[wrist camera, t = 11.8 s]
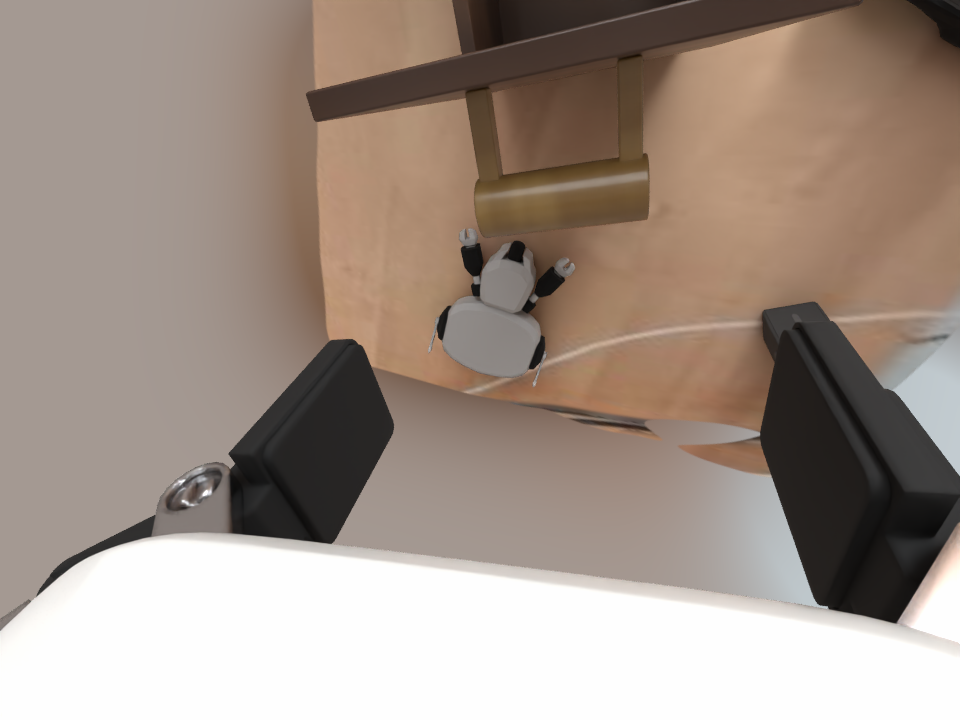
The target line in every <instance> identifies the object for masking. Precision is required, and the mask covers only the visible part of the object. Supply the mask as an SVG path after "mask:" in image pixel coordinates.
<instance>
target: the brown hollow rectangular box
mask: <svg viewBox="0 0 960 720" xmlns="http://www.w3.org/2000/svg"><path fill="white" fill-rule="evenodd" d="M452 1H453V7H454V12H455V18H456V23H457V29H458V35H459V40H460V46H461V51H462V55H463V54H467V53H471V52H475V51H479V50H483V49H488V48H492V47H496V46H500V45H504V44H508V43H512V42H517V41H521V40H525V39H529V38H533V37H537V36H541V35H546V34H550V33H554V32H558V31H562V30H566V29H570V28H575V27H579V26H583V25H587V24H591V23H595V22H599V21H604V20H608V19H612V18H616V17H620V16H624V15H628V14H633V13H637V12H641V11H645V10H649V9H653V8H657V7H662V6H666V5H670V4H674V3H678V2H682V1H686V0H452Z"/></svg>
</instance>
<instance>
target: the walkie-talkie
mask: <svg viewBox="0 0 960 720" xmlns="http://www.w3.org/2000/svg"><path fill="white" fill-rule="evenodd" d="M811 321H830V320H829V318H828V317H827V315H826V314H825V313H824V311H823V310H822V309H821V307H820V306H819V305H818V303H816V302H809V303H803V304H797V305H791V306H785V307H779V308H774V309H768V310H764V311H763V337H764V341H765V343H766V345H767V348H768V350H769V352H770V354H771V356H772V358H773V360H774V362H775V360H776V355H777V350H778V346H779V341H780V336H781V333H782V332H783V331H784V330H792V327H793V326H794V324H795V323H796V322H811Z"/></svg>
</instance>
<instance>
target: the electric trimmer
mask: <svg viewBox="0 0 960 720" xmlns="http://www.w3.org/2000/svg"><path fill="white" fill-rule="evenodd" d="M907 1H909V2H910V3H912V4H913V5H915V6H916V7H917V8H919V9H920V10H922V11H923V12H924V13H925V14H926V15H927V16H929V17H930V18H931V19H932V20H933V21H935V22H936V23H937V25H938V28H939V31H940V37H941V38H942V39H944V40H946V41H947V42H949V43H951V44H952V45H954V46H956V47H958V48H960V0H907Z"/></svg>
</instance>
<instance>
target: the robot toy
mask: <svg viewBox="0 0 960 720" xmlns="http://www.w3.org/2000/svg"><path fill="white" fill-rule="evenodd" d="M468 232H469V236H470V237H467V233H466V229H463V230H461V232H460V233H459V240H460V241H461V243H462V244H463V245H464V246H463V247H462V248H461V253H462V258H463V262H464V267H465V268H466V270H467V271H468V272H469V273H470V274H471V275H472V276H473V280H474V283H473V284H472V285H471V288H472V293H473V296H466V297H463V298H459V299H458V300H457V301H456V302H455V303H454V304H453V305H452V306H447V308H446V309H445V310H444V311H443V312H442V314H441V315H440V317H436V320H435V323H436V324H435V328H434V332H433V336H432V339H431V343H430V346H429V349H428V352H429V353H430V351H431V349H432V344H433V340H434V337H435V333H436V329H437V332H438V338H439V339H440V340H442V343H443V348H444V351H445V352H446V353H447V354H448V355H449V356H450V357H451V358H452V359H453V360H455V361H457V362H458V363H460V364H461V365H463V366H465V367H467V368H470V369H472V370H474V371H476V372H478V373H481V374H486V375H491V376H496V377H505V378H514V377H519V376H522V375H523V374H525V373H526V372H527V371H528V370H529V369H534V368H535V367H536V366H537V365H538V364H539V363H540V362H541V363H540V366H539V369H538V372H537V374H536V377H535V380H534V382H533V387H534V386H535V384H536V381H537V378H538V375H539V372H540V369H541V367H542V364H543V361H544V359H545V358H546V356H547V352H545V337H544V336H542V335H541V331H540V324H539V323H538V322H537V321H536V320H535V318H534V317H533V316H532V315H530V314H529V312H530V311H531V310H532V309H533V308H534V307H535V306H536V304H535V301H536V300H537V299H538V298H540V297H544V296H548V295H551V294H552V293H553V292H554V291H555V290H556V289H557V288H558V287H559V286H560V285H561V284H562V283H563V282H564V281H565V279H564V277H566V276H569V275H571V274H572V273H573V271H574V270H575V266H574V264H573V263H572V262H571V264H570V265H569V266H568V267H567V268H565V267H564V265H566V264H567V263H568V262H569V259H568V258H561V259H560V260H558V261H557V262H556V265H555V268H554V267H553V266H552V267H551V268H550V269H549V270H548V271H547V272H546V273H545V274H544V275H543V276H542V277H541V278H540V279H539V280H538V282H537V285H536V288H535V291H534V293H533V294H532V295H531V296H529V295H530V293H531V291H532V289H533V287H534V284H535V280H536V269H535V267H534V265H533V253H532V252H531V251H530V250H529V249H528V248H527V247H526V249H525V244H524V243H523V242H521V241H514V242H513V243H512V244H511V243H506V244H503V245H502V246H501V248H500V249H499V250H498V252H497V253H496V254H494V255H492V256H491V257H490V259H489V260H488V262H487V263H486V265H485V267H484V269H483V270H482V266H483V257H482V251H481V246H480V243H477V240H478V235H477V233H476V231H475V230H474V229H472V228H469V229H468ZM510 245H511V247H510ZM509 247H510V250H509V252H507V251H508V249H509ZM524 249H525V252H524ZM523 253H524V254H523ZM481 270H482V277H480V273H481ZM437 325H438V326H437ZM541 359H542V361H541Z"/></svg>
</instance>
